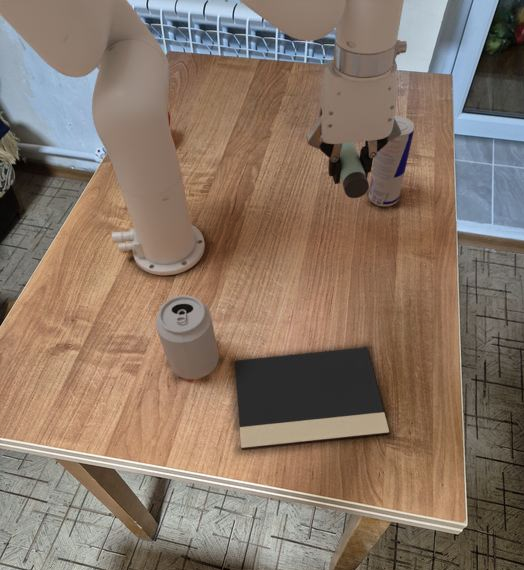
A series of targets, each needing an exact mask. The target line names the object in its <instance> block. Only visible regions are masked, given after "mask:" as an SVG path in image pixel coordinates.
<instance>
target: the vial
mask: <svg viewBox="0 0 524 570" xmlns="http://www.w3.org/2000/svg"><path fill="white" fill-rule="evenodd" d="M356 146H357V145H356V144H355V142H351V143H343V145H342V148H341V152H340V158H341V162H342V166H341V174H340V182H341V185H342V187H343V191H344V194H345V195H346V196H347V197H348V198H350V199H359V198H362V197H363V196H364V195H366V193H367V192H369V188H370V182H369V181H368V177H367V178H366V175H365V172H364V169H363V166H362V163H361V161H360V154H359V152H358V150H357V147H356Z"/></svg>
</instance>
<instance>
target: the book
mask: <svg viewBox="0 0 524 570" xmlns="http://www.w3.org/2000/svg"><path fill="white" fill-rule="evenodd" d="M234 372H235V382H236V383H235V384H236V396H237V408H238V409H237V411H238V423H239V436H240V437H239V438H240V439H239V440H240V448H241V450H250V449H260V448H269V447H278V446H279V447H281V446H287V445H298V444H307V443H316V442H327V441H336V440H345V439H355V438H365V437H375V436H382V435H384V436H385V435H389V434H390V429H389V426H388V421H387V417H386V414H385V412H384V407H383V402H382V399H381V395H380V391H379V387H378V384H377V383H378V382H377V379H376V375H375V370H374V368H373V364H372V360H371V356H370V351H369V348H368V346H365V347H356V348H344V349H336V350H326V351H317V352H306V353H296V354H295V353H294V354H287V355H285V354H284V355H277V356H267V357H258V358H257V357H256V358H247V359H238V360H236V359H235V360H234Z"/></svg>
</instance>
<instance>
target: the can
mask: <svg viewBox="0 0 524 570" xmlns="http://www.w3.org/2000/svg"><path fill="white" fill-rule="evenodd" d="M155 329H156V332H157V335H158V336H159V340H160V343H161V346H162V348H163V351H164V354H165V356H166V357H165V358H166V359H167V362H168V365H169V367H170V369H171V371H172V372H173V373H174V374H175V375H177V376H178V377H180V378H182V379H184V380H197V379H202V378H205V377H206V376H208V375H209V374H210V373H212V372H213V371H214V370H215V369H216V367H217V365H218V363H219V359H220V353H219V348H218V344H217V343H218V342H217V339H216V333H215V329H214V325H213V319H212V314H211V311H210V309H209V307H208V306H207V305H206V304H205V303H203V302H202V301H201V300H200V299H199V298H197V297H195V296H193V295H188V294H181V295H175V296H173V297H170V298H168V299H167V300H166V301H165V302H163V303H162V304H161V306H160V307H159V309H158V313H157V315H156V319H155Z"/></svg>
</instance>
